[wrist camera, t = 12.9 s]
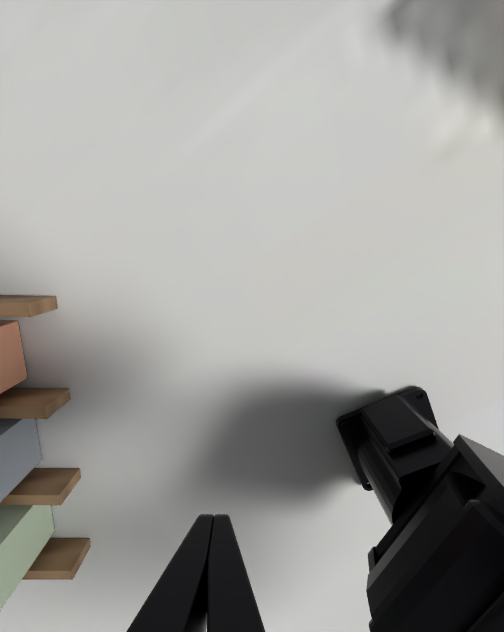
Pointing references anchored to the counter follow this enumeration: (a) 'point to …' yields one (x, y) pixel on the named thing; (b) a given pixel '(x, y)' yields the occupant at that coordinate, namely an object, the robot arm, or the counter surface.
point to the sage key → (21, 542)
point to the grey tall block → (17, 452)
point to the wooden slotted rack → (42, 483)
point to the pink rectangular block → (11, 356)
